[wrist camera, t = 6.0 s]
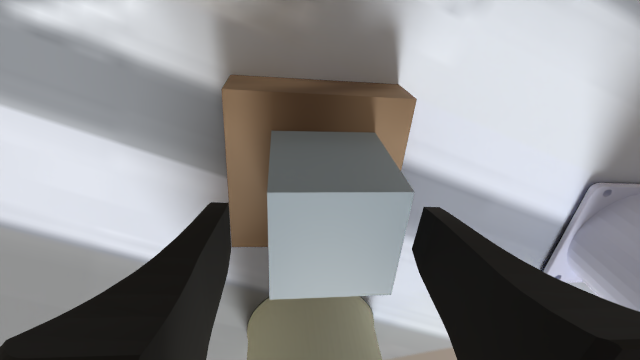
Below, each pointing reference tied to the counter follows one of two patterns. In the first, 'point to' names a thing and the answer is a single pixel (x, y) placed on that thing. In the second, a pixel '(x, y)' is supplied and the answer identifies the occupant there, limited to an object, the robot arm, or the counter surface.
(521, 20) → the counter surface
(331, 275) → the block
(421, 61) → the counter surface
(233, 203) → the slab
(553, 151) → the counter surface
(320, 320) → the can
